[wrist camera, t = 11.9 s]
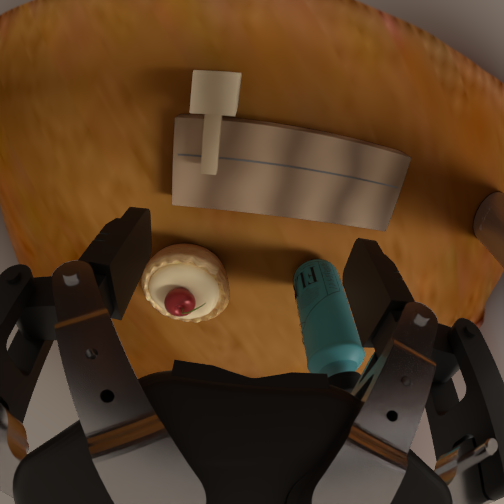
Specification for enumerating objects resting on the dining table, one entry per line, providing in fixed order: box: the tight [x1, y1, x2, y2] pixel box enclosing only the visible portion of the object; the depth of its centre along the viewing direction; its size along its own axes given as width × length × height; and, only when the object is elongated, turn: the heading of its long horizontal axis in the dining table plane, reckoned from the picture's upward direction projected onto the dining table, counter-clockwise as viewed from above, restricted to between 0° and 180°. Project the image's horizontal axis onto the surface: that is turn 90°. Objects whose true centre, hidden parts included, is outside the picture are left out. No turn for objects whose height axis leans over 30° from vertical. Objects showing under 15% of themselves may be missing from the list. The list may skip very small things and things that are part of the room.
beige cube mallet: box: [190, 70, 242, 175], centre depth 26 cm, size 4×10×6 cm, turn 173°
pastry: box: [142, 243, 229, 323], centre depth 37 cm, size 12×12×9 cm
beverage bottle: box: [293, 259, 365, 393], centre depth 32 cm, size 6×7×20 cm
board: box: [172, 114, 411, 231], centre depth 31 cm, size 26×10×2 cm, turn 82°
